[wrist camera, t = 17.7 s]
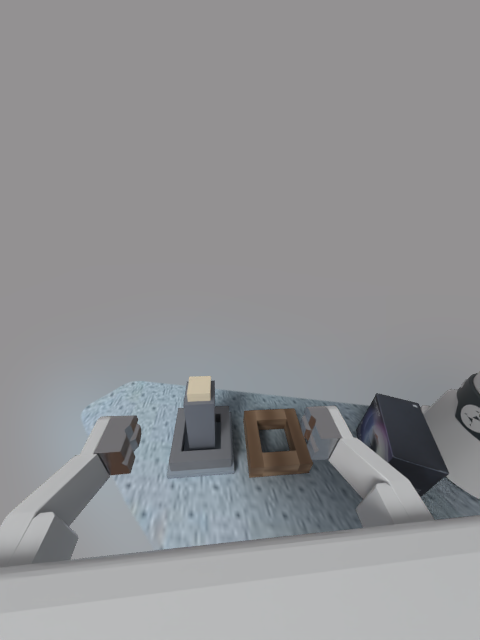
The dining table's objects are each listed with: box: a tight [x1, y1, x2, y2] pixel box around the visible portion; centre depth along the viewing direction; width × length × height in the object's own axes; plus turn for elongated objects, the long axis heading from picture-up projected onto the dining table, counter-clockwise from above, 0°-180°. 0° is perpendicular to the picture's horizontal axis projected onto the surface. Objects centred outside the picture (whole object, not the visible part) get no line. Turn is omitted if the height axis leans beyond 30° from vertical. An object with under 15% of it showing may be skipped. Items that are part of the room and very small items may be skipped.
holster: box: [243, 409, 313, 478], centre depth 36 cm, size 9×9×3 cm
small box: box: [357, 393, 449, 497], centre depth 33 cm, size 11×6×10 cm, turn 162°
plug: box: [183, 376, 215, 451], centre depth 33 cm, size 4×4×14 cm
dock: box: [167, 406, 234, 479], centre depth 36 cm, size 10×10×4 cm
